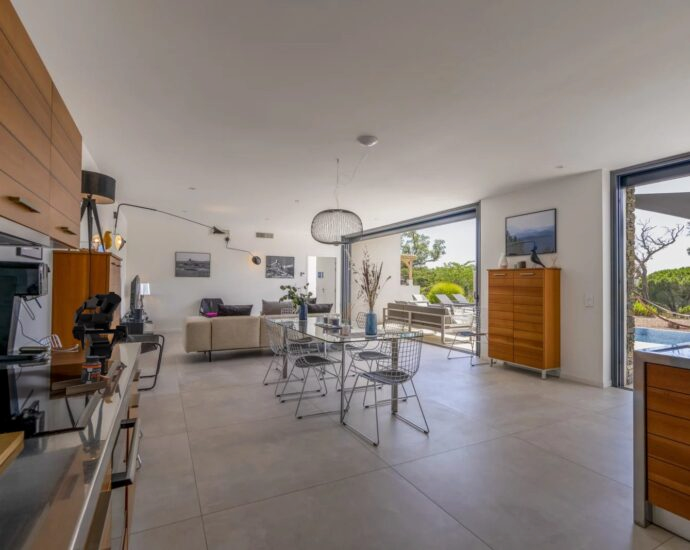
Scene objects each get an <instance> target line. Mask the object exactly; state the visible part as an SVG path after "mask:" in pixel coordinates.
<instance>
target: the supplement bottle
mask: <svg viewBox="0 0 690 550" xmlns="http://www.w3.org/2000/svg"><path fill="white" fill-rule="evenodd" d="M100 373H101V362H100V361H99V356H88V357H86V360H85V362H83V363H82V366H81V376H80V378H81V385H83V384H89V383H95V382H100V375H101V374H100Z"/></svg>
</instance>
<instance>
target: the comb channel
mask: <svg viewBox="0 0 690 550" xmlns="http://www.w3.org/2000/svg"><path fill="white" fill-rule="evenodd" d="M51 385H52V386H51V391H57V390H64V389H65V396H70V395H75V394H81V393H85V392H90V391H95V390H101V388H102V389H105V388H106V389H107V388H110V387H111V377H109V376H106V375H104V374H100V382H95V383H89V384H83V385H81V377H80V378H75V379H69V380H63V381H58V382H57V381H56V382H52V384H51Z"/></svg>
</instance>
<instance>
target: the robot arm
mask: <svg viewBox="0 0 690 550" xmlns="http://www.w3.org/2000/svg"><path fill="white" fill-rule="evenodd" d="M120 303H122V297H121V296H120V295H118V294H117V293H116V292H115V291H108V293H95V294H94V295H93V296H92V297H91V299H88V300H84V301H82V303H81V306H79V308H77V309H76V310H75V312H74V315H73V321H72V322H73V324H74V326H73V327H72V328H71V332H72V336H73V339H75V340H77V341H80V344H81V349H82V350H81V351H85V348H86V345H87V344H86V343H87V341H88V343H89V344H88V347H87V349H86V351H85V353H84V360H85V361H86V357H88V356H99V361H100V362H101V373H100V375H104V374H108V373H109V371H106V360H107V359H109V360H110V359H111V357H112V355H113V354H112V353H113V350H114V347H116V345H117V344H118V343H119V342H120V341H121V340H122V341H123V340H124V339H127V338H128V337H129V329H128V326H127V325H124V324H119V325H118V324H116V325H115V328H112V325H113V324H112V323H113V322H114V314H115V311H116V310H118V307H119V306H120ZM97 309H98V310H97ZM85 310H93V311H94V313H93V312H86V313H85ZM101 335H113V336H112V339H111V341H110V340H109V338H108V337H107V336H101Z"/></svg>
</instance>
